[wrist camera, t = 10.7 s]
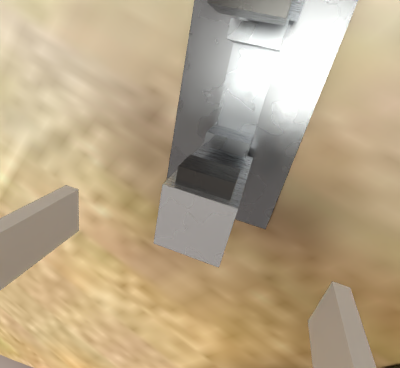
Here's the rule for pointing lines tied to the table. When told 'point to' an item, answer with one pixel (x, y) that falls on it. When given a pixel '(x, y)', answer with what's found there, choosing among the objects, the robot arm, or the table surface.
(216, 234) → the finger
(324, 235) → the table surface
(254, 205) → the rail
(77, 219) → the robot arm
